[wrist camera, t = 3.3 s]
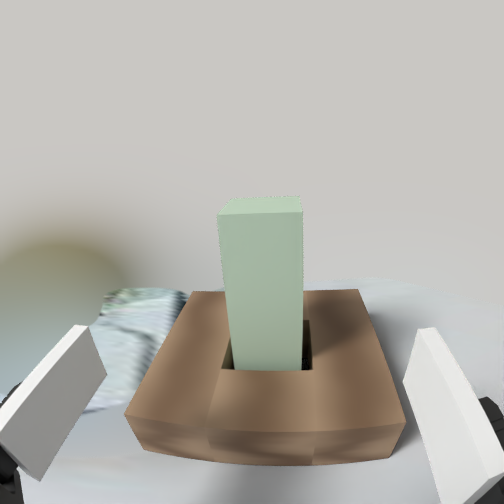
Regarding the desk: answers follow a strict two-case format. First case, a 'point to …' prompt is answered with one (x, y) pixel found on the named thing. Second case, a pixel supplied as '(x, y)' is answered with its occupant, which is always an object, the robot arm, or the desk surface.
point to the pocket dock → (270, 391)
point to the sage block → (263, 281)
